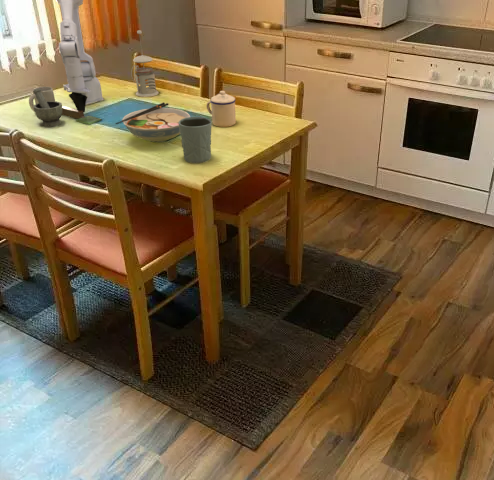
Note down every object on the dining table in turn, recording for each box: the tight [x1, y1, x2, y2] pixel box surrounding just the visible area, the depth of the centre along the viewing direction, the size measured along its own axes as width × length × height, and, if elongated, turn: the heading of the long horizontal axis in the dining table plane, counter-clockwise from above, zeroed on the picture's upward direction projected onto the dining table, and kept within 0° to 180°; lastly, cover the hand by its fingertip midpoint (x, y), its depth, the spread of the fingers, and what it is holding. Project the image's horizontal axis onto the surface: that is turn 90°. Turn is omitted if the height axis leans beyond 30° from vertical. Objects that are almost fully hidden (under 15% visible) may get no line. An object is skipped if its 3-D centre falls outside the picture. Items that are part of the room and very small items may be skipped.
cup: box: [28, 86, 56, 113], centre depth 221 cm, size 7×10×9 cm
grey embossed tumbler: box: [178, 116, 213, 164], centre depth 184 cm, size 10×10×12 cm
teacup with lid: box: [206, 90, 237, 128], centre depth 213 cm, size 12×9×12 cm
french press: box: [130, 29, 160, 98], centre depth 239 cm, size 10×12×25 cm
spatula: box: [61, 105, 102, 126], centre depth 218 cm, size 18×6×3 cm, turn 57°
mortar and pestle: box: [32, 89, 63, 128], centre depth 211 cm, size 11×9×12 cm
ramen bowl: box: [114, 102, 191, 143], centre depth 199 cm, size 25×23×8 cm
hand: (81, 112), depth 220 cm, fingers closed, pressing on spatula
